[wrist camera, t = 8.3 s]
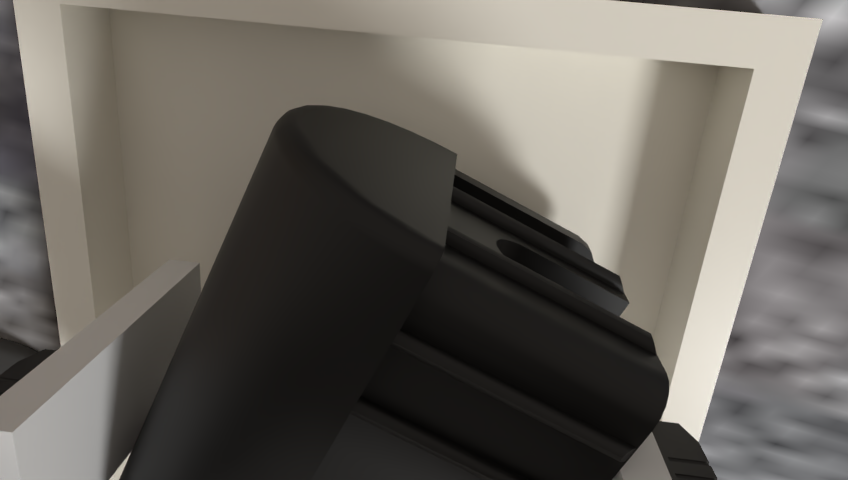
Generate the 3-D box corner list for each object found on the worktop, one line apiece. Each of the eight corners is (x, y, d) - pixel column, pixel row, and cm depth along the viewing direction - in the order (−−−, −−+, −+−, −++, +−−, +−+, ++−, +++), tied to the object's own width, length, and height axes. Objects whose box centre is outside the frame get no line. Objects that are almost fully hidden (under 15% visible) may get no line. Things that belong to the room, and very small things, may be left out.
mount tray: (132, 490, 20) (89, 550, 18) (78, -44, 15) (5, -54, 12) (625, 555, 20) (644, 626, 17) (766, 18, 14) (822, 19, 12)
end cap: (336, 78, 14) (215, 135, 7) (611, 228, 14) (718, 399, 8) (184, 407, 17) (11, 641, 11) (412, 516, 18) (376, 796, 11)
